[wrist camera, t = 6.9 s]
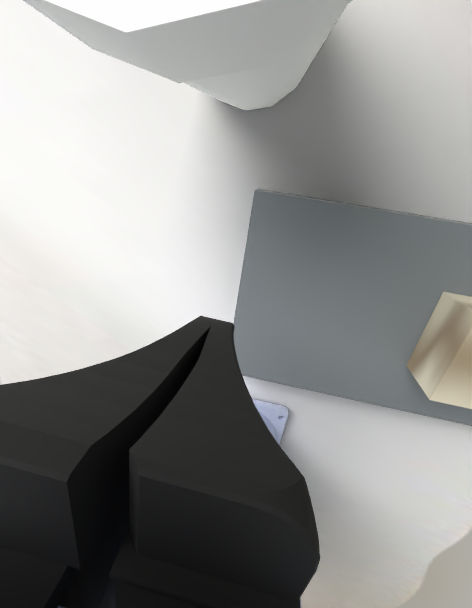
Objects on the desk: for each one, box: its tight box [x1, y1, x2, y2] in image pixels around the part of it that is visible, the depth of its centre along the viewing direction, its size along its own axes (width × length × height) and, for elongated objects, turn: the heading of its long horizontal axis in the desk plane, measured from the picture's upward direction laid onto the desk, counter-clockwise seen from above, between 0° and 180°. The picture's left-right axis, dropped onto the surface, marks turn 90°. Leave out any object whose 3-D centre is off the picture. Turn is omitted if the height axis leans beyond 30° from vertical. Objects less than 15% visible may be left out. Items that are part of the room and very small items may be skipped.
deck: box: [233, 189, 472, 426], centre depth 17 cm, size 12×21×2 cm, turn 81°
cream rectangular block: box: [406, 292, 472, 409], centre depth 15 cm, size 5×3×3 cm
